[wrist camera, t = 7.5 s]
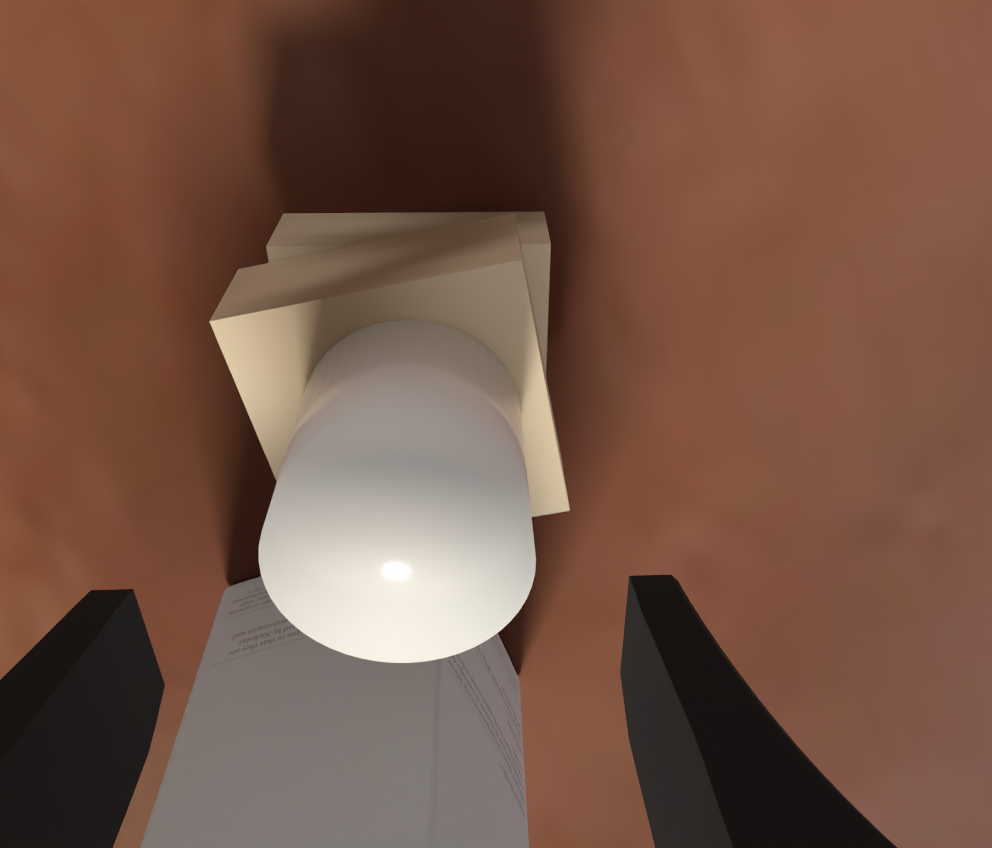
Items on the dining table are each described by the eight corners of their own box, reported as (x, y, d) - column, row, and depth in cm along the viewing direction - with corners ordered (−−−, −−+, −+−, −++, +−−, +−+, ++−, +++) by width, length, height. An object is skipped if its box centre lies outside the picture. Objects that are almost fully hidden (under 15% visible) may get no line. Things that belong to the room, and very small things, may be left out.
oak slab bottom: (542, 204, 21) (550, 243, 18) (536, 418, 24) (542, 472, 22) (287, 206, 20) (266, 245, 18) (315, 421, 24) (300, 475, 22)
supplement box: (217, 581, 26) (45, 1075, 16) (451, 519, 25) (436, 1005, 14) (319, 731, 30) (237, 1207, 19) (525, 682, 29) (556, 1160, 18)
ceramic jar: (531, 328, 17) (552, 461, 13) (509, 509, 19) (520, 667, 15) (300, 311, 16) (250, 444, 13) (305, 497, 19) (265, 657, 15)
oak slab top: (514, 213, 18) (521, 259, 16) (559, 446, 21) (569, 510, 19) (238, 269, 19) (209, 321, 16) (322, 488, 22) (308, 555, 20)
